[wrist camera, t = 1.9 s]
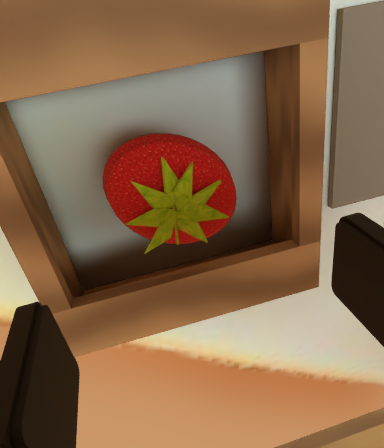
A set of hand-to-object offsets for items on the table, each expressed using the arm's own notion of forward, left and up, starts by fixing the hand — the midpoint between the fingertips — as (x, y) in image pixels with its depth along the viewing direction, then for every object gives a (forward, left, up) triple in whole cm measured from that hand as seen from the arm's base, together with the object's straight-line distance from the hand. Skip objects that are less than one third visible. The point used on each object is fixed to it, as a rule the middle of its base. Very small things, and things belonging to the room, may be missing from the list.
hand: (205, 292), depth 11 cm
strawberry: (0, 0, -15) cm, 15 cm away
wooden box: (0, 0, -14) cm, 14 cm away
